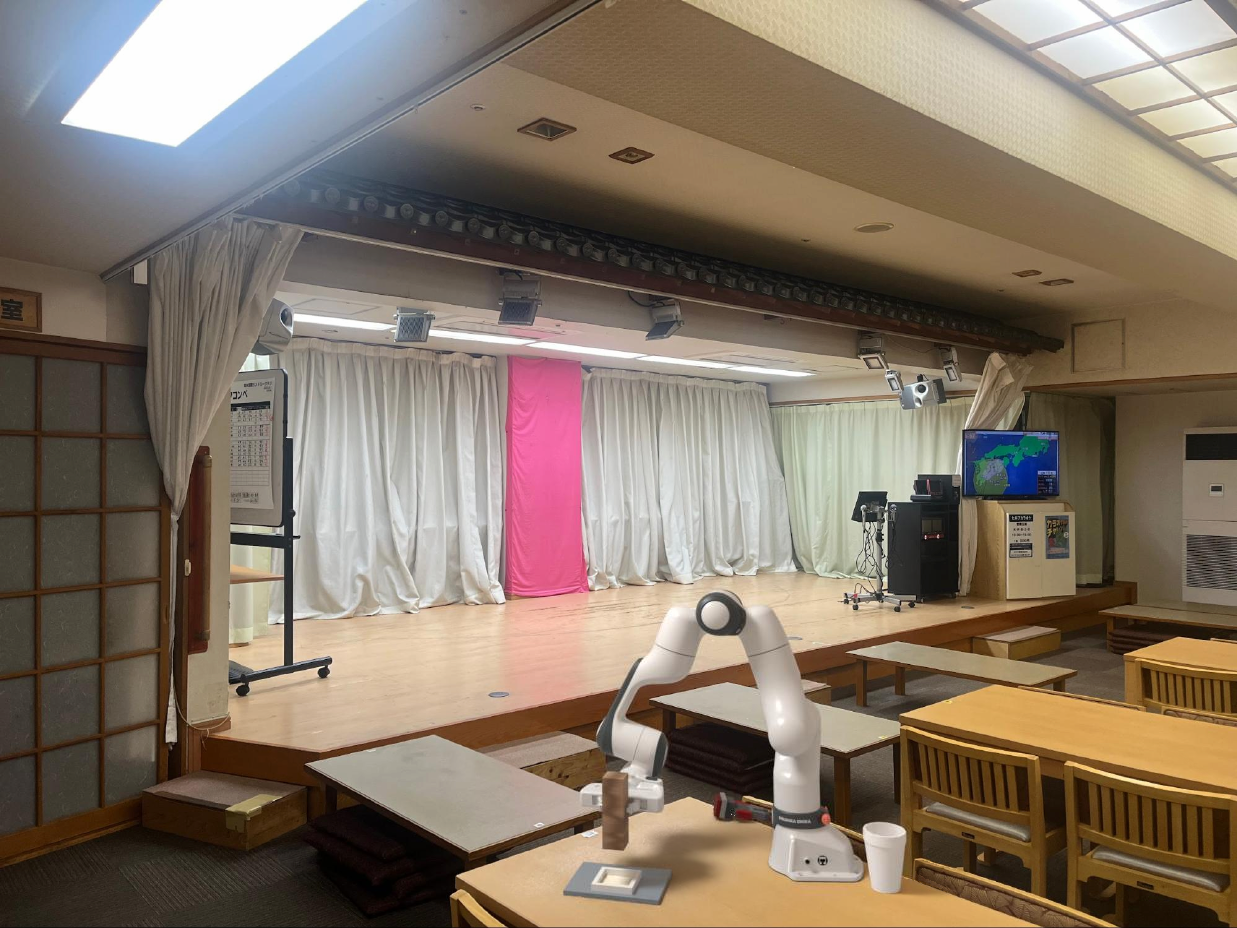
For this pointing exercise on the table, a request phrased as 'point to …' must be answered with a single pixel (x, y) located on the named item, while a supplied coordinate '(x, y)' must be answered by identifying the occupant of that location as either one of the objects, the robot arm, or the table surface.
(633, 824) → the table surface
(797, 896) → the table surface
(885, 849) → the foam cup
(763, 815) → the toy
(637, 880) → the socket
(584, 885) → the board
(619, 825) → the pillar
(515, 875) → the table surface
